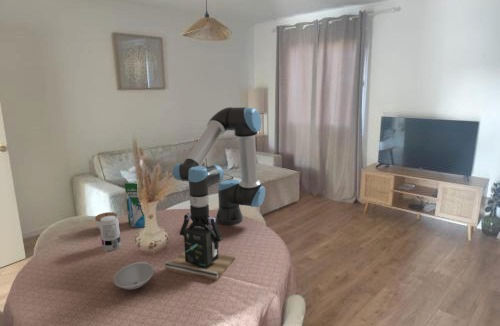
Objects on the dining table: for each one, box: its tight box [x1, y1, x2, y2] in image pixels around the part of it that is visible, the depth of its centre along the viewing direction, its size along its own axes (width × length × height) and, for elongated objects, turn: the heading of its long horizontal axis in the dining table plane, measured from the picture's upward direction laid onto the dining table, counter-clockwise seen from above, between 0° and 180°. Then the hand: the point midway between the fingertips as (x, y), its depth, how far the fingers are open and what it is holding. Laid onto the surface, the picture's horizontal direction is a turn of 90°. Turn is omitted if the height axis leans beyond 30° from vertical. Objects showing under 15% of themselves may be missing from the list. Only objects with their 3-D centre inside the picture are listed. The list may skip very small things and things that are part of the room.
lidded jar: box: [94, 211, 118, 230], centre depth 179 cm, size 11×11×9 cm
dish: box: [113, 261, 155, 290], centre depth 128 cm, size 18×14×5 cm
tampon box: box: [183, 224, 219, 268], centre depth 140 cm, size 11×9×15 cm
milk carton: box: [124, 180, 145, 228], centre depth 184 cm, size 9×9×25 cm
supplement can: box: [99, 215, 122, 252], centre depth 157 cm, size 8×8×15 cm
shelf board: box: [164, 250, 236, 282], centre depth 143 cm, size 18×24×3 cm
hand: (201, 253), depth 140 cm, fingers closed on tampon box, 12 cm apart
